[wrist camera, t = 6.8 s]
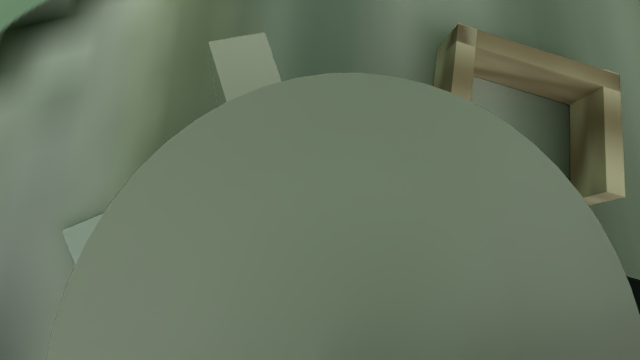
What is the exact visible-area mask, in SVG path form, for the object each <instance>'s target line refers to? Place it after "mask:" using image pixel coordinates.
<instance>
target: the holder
mask: <svg viewBox="0 0 640 360" xmlns="http://www.w3.org/2000/svg"><path fill="white" fill-rule="evenodd" d="M473 76H475V77H478V78H482V79H485V80H488V81H492V82H495V83H498V84H502V85H505V86H508V87H512V88H515V89H518V90H522V91H525V92H528V93H532V94H535V95H538V96H542V97H545V98H548V99H552V100H555V101H558V102H562V103H565V104H568V105H570V182H571V183H572V185H573V186H574V187H575V188H576V189H577V190H578V192H579V193H580V194H581V196H582V197H583V199H584V200H585V202H586V203H587V205H593V204H597V203H601V202H606V201H610V200H614V199H619V198H623V197H625V178H624V157H623V136H622V115H621V94H620V74H617V73H614V72H611V71H607V70H604V69H599V68H596V67H593V66H589V65H586V64H583V63H580V62H577V61H574V60H571V59H567V58H564V57H561V56H558V55H555V54H552V53H548V52H545V51H542V50H539V49H536V48H533V47H530V46H526V45H523V44H520V43H517V42H514V41H511V40H508V39H504V38H501V37H498V36H495V35H492V34H489V33H485V32H482V31H479V30H477V29H475V28H472V27H469V26H466V25H462V24H459V23H458V24H457V26H456V27H455V28H454V29H453V30H452V32H451V33H450V34H449V35H448V36H447V38H446V39H445V40H444V41H443V43H442V44H441V45H440V46H439V47H438V50H437V59H436V67H435V75H434V84H433V86H434V87H437V88H439V89H442V90H445V91H448V92H451V93H454V94H456V95H458V96H460V97H462V98H464V99H466V100H468V101H470V102H471V96H472V84H473Z"/></svg>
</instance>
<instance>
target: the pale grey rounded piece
mask: <svg viewBox="0 0 640 360" xmlns="http://www.w3.org/2000/svg"><path fill="white" fill-rule="evenodd" d="M209 50H210V57H211V64H212V71H213V78H214V86H215V93H216V100H217V108H215V109H214V110H212V111H210V112H208V113H206V114H205V115H203V116H201V117H199V118H198V119H196V120H195V121H194V122H192V123H191V124H190V125H188V126H187V127H186V128H184V129H183V130H182V131H180V132H179V133H178V134H176V135H175V136H173V137H172V138H171V139H169V140H168V141H167V142H166V143H165V144H164V145H163V146H162V147H160V148H159V149H158V150H157V151H156V152H155V153H154V154H153V155H152V156H151V157H150V158H149V159H148V160H147V161H146V162H145V163H144V164H143V165H142V166H141V167H140V168H139V169H138V170H137V171H136V172H135V173H134V174H133V176H132V177H131V178H130V179H129V181H128V182H127V183H126V184H125V186H124V187H123V188H122V189H121V191H120V192H119V193H118V194H117V195H116V197H115V198H114V199H113V200H112V202H111V203H110V204H109V206H108V208H107V209H106V211H105V212H104V214H103V216H102V217H101V219H100V220H99V222H98V224H97V225H96V227H95V229H94V230H93V232H92V233H91V235H90V237H89V238H88V240H87V241H86V243H85V245H84V248H83V250H82V252H81V254H80V256H79V259H78V261H77V263H76V265H75V267H74V269H73V272H72V274H71V276H70V278H69V280H68V283H67V285H66V287H65V291H64V294H63V297H62V300H61V303H60V307H59V310H58V313H57V316H56V319H55V323H54V326H53V329H52V332H51V336H50V342H49V347H48V353H47V359H46V360H640V314H639V311H638V308H637V305H636V302H635V299H634V296H633V292H632V289H631V286H630V284H629V281H628V279H627V277H626V274H625V272H624V270H623V267H622V265H621V263H620V261H619V258H618V256H617V254H616V251H615V250H614V248H613V246H612V244H611V242H610V241H609V239H608V237H607V235H606V233H605V231H604V230H603V228H602V226H601V224H600V222H599V221H598V219H597V218H596V216H595V215H594V213H593V212H592V210H591V209H590V207H589V206H588V205H587V203H586V202H585V200H584V199H583V197H582V196H581V194H580V193H579V192H578V190H577V189H576V188H575V187H574V186H573V185H572V183H571V182H570V181H569V180H568V179H567V177H566V176H565V175H564V174H563V173H562V171H561V170H560V169H559V168H558V167H557V166H556V165H555V164H554V163H553V162H552V161H551V160H550V159H549V158H548V157H547V156H546V155H545V154H544V153H543V152H542V151H541V150H540V149H539V148H538V147H537V146H536V145H535V144H533V143H532V142H531V141H530V140H528V139H527V138H526V137H525V136H523V135H522V134H521V133H519V132H518V131H517V130H516V129H514V128H513V127H512V126H511V125H509V124H508V123H506V122H505V121H503V120H501V119H500V118H498V117H497V116H495V115H493V114H492V113H490V112H489V111H487V110H486V109H484V108H482V107H480V106H478V105H476V104H474V103H472V102H470V101H468V100H466V99H464V98H462V97H460V96H458V95H456V94H454V93H451V92H448V91H445V90H442V89H439V88H437V87H434V86H431V85H428V84H425V83H422V82H417V81H413V80H408V79H404V78H400V77H395V76H388V75H379V74H369V73H327V74H319V75H312V76H305V77H298V78H293V79H290V80H286V81H281V79H280V76H279V73H278V70H277V67H276V64H275V61H274V58H273V55H272V52H271V49H270V46H269V43H268V40H267V37H266V34H265V32H264V33H258V34H252V35H246V36H240V37H234V38H228V39H222V40H216V41H210V42H209Z"/></svg>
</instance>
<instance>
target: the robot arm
mask: <svg viewBox="0 0 640 360" xmlns="http://www.w3.org/2000/svg"><path fill="white" fill-rule="evenodd" d="M626 277H627V276H626ZM627 279H628V281H629V284H630V286H631V289H632V292H633V296H634V299H635V302H636V305H637V308H638V311H639V314H640V280H638V279H634V278H631V277H627Z"/></svg>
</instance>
